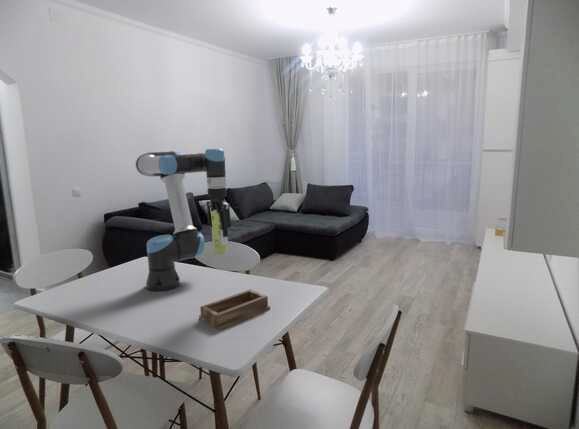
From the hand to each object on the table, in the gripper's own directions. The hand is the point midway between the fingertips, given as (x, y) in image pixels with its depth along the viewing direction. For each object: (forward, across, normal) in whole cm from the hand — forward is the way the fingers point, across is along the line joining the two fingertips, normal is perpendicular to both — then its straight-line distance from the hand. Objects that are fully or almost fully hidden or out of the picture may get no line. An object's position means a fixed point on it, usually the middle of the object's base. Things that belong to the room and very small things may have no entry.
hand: (220, 242), depth 163 cm
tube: (+5, 0, 0) cm, 5 cm away
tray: (+25, +15, -5) cm, 29 cm away
